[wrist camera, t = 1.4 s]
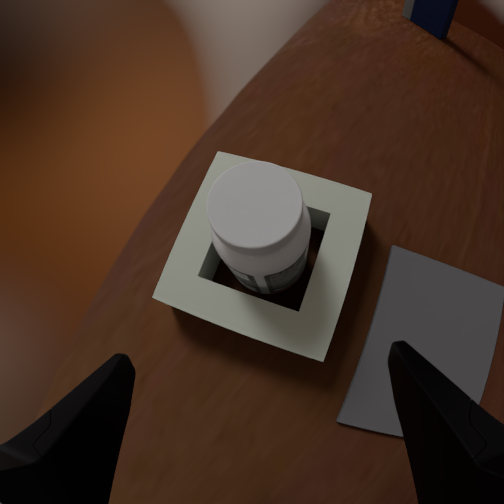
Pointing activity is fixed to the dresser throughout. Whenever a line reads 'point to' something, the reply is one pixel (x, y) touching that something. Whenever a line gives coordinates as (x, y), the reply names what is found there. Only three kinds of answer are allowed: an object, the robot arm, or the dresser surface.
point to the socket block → (255, 309)
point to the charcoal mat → (424, 334)
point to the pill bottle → (260, 225)
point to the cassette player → (431, 15)
